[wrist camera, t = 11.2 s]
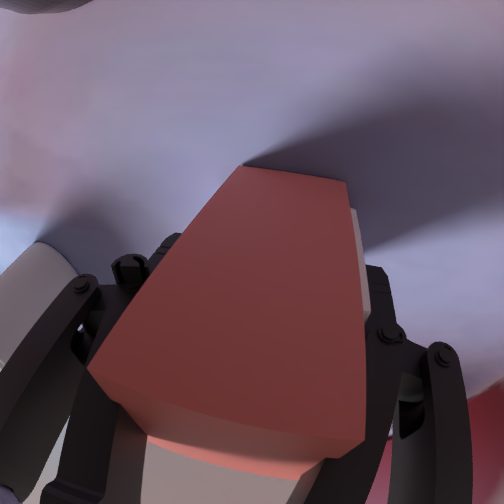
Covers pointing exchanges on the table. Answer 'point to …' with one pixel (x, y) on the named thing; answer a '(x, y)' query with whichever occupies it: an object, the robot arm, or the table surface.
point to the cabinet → (205, 482)
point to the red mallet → (249, 331)
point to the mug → (29, 293)
